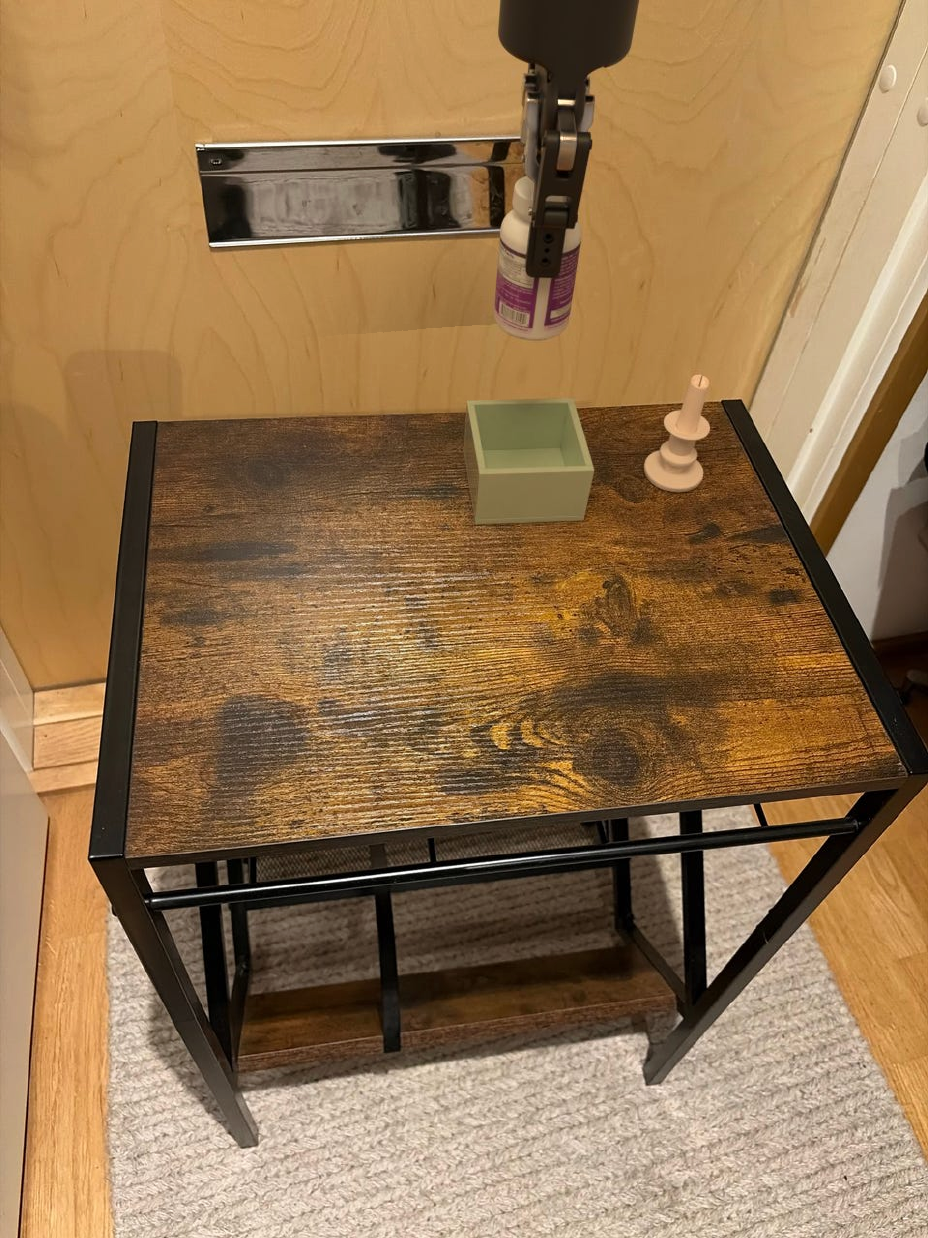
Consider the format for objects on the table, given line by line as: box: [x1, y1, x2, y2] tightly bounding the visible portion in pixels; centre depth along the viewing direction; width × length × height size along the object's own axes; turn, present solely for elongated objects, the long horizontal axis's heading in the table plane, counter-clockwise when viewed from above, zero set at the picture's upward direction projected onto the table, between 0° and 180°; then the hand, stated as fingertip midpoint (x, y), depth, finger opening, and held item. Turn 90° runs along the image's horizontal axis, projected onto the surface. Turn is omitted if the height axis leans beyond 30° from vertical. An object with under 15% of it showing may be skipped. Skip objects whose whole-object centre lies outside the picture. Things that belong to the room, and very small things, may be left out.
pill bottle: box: [493, 176, 583, 342], centre depth 63 cm, size 5×5×10 cm
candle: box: [642, 374, 711, 493], centre depth 79 cm, size 5×5×10 cm
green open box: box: [462, 397, 595, 526], centre depth 79 cm, size 9×9×6 cm
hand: (538, 249), depth 62 cm, fingers closed on pill bottle, 5 cm apart
